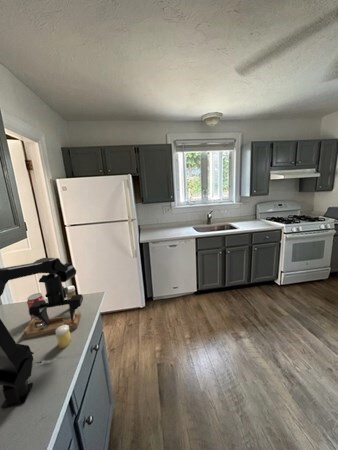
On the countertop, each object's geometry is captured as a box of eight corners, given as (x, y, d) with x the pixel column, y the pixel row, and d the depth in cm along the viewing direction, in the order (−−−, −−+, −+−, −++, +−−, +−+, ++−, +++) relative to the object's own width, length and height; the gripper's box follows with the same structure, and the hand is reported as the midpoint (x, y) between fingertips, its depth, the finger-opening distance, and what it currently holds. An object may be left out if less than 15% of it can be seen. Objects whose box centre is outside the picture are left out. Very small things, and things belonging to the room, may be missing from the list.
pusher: (44, 332, 91) (43, 325, 90) (33, 334, 90) (32, 327, 89) (49, 323, 97) (48, 316, 96) (39, 325, 96) (38, 318, 96)
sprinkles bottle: (78, 309, 109) (75, 287, 106) (69, 313, 106) (65, 290, 104) (77, 306, 113) (73, 284, 110) (68, 309, 110) (64, 287, 108)
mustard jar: (70, 348, 82) (66, 331, 81) (57, 351, 81) (53, 334, 80) (73, 339, 87) (70, 323, 85) (60, 342, 86) (57, 326, 84)
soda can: (46, 320, 101) (41, 297, 99) (29, 324, 99) (24, 301, 96) (48, 312, 108) (44, 291, 105) (33, 316, 105) (28, 294, 103)
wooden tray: (77, 330, 93) (76, 321, 92) (25, 340, 88) (23, 331, 88) (81, 318, 101) (80, 310, 101) (34, 326, 97) (32, 318, 96)
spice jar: (74, 326, 94) (73, 317, 93) (62, 328, 93) (60, 319, 92) (77, 319, 99) (75, 310, 98) (65, 321, 98) (64, 312, 97)
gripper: (83, 276, 89) (87, 307, 92) (37, 282, 85) (43, 315, 88) (77, 287, 78) (83, 322, 81) (24, 296, 74) (32, 332, 77)
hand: (60, 322), depth 82 cm, fingers open, 9 cm apart
